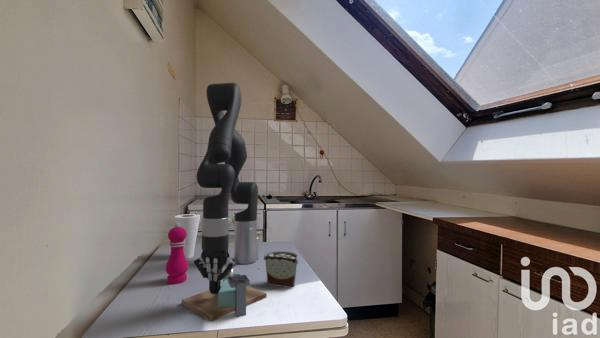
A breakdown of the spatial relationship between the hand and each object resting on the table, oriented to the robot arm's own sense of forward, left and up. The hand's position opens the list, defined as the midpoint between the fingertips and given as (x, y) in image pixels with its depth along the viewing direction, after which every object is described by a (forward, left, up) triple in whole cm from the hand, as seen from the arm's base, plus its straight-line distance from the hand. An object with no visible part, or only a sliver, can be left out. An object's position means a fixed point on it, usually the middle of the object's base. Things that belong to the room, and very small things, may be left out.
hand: (214, 292), depth 86 cm
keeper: (-2, +9, -3) cm, 10 cm away
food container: (-24, +4, -3) cm, 25 cm away
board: (-3, +1, -3) cm, 4 cm away
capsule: (-7, -3, -3) cm, 8 cm away
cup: (-18, -49, -3) cm, 52 cm away
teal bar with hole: (-5, +1, -2) cm, 5 cm away
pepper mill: (-1, -25, -3) cm, 25 cm away
